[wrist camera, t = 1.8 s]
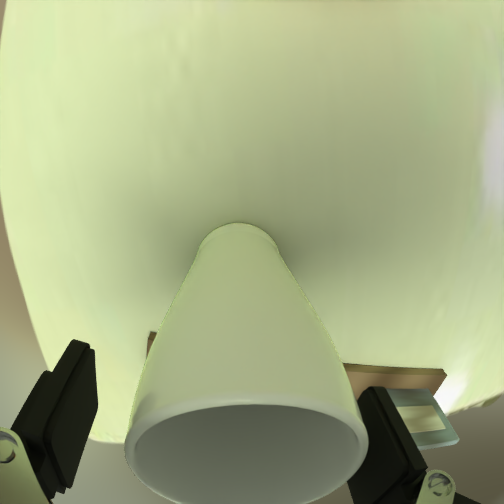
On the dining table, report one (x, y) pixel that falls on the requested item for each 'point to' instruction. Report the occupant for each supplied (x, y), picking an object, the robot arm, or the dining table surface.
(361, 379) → the stand
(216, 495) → the drinking glass
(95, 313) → the dining table surface
